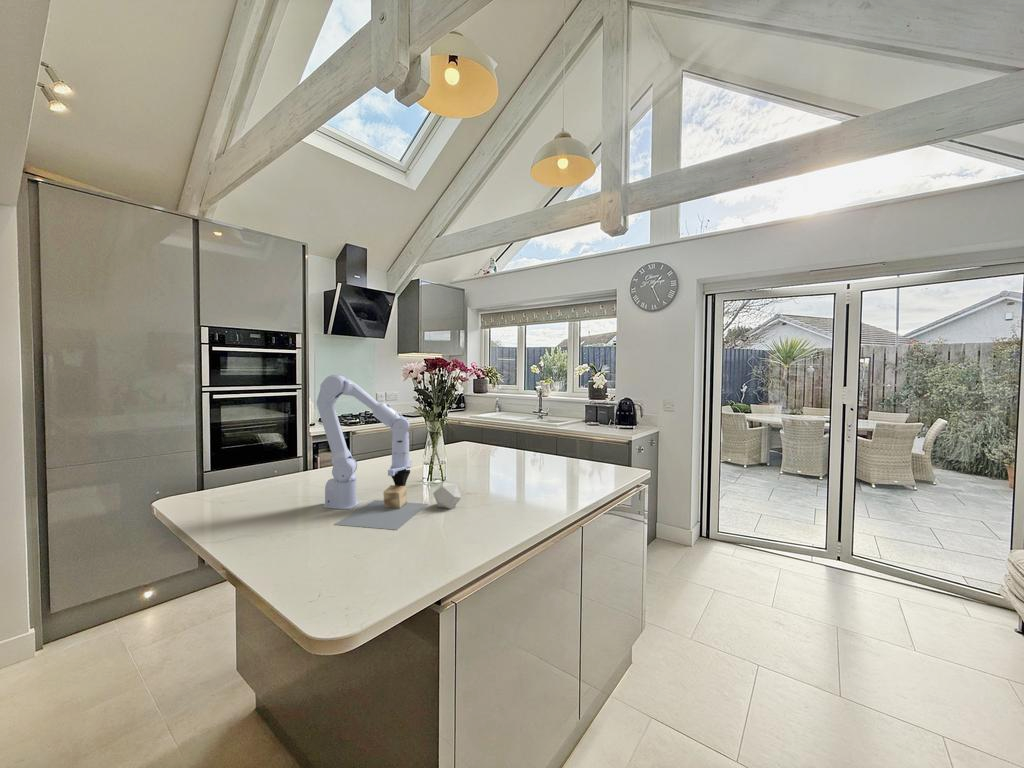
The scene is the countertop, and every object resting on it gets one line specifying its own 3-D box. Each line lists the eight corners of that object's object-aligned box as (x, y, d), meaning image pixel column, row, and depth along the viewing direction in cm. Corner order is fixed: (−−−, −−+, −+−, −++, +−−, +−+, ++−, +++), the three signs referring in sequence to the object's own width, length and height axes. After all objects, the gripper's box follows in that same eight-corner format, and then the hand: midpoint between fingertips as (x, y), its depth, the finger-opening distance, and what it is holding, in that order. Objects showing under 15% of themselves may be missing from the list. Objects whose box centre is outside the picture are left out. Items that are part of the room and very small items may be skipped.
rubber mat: (333, 525, 125) (333, 524, 125) (374, 500, 148) (374, 500, 148) (397, 530, 121) (397, 529, 121) (428, 504, 145) (428, 503, 145)
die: (465, 507, 144) (457, 481, 149) (460, 501, 137) (452, 474, 141) (442, 516, 144) (435, 490, 148) (436, 511, 136) (428, 483, 140)
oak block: (384, 507, 140) (383, 492, 139) (392, 500, 146) (390, 485, 145) (400, 508, 139) (399, 493, 138) (407, 501, 145) (406, 486, 144)
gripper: (402, 457, 137) (402, 498, 138) (419, 449, 152) (419, 486, 152) (382, 456, 139) (381, 497, 139) (401, 448, 153) (401, 485, 153)
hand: (400, 491), depth 146 cm, fingers closed
